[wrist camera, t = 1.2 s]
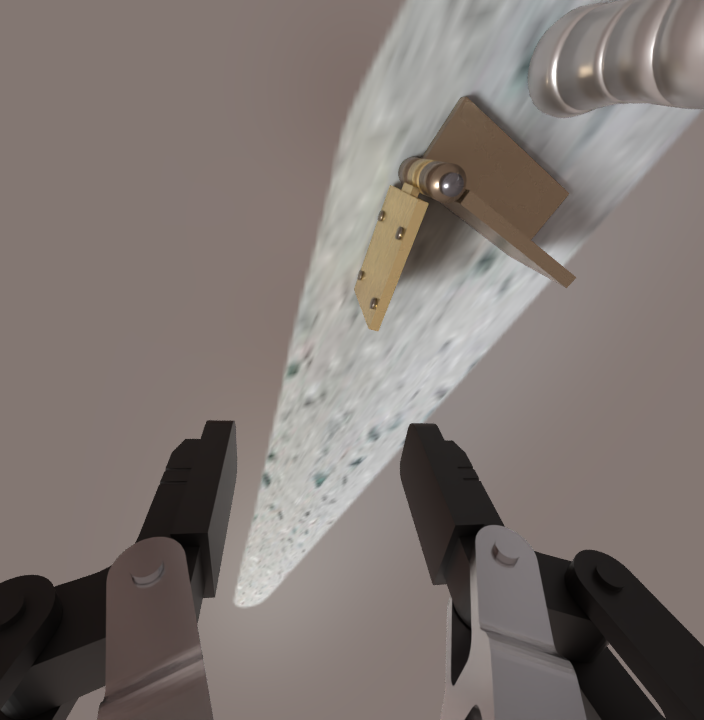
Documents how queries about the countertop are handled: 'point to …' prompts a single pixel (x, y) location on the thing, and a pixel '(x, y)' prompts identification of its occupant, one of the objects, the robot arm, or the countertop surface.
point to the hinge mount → (491, 186)
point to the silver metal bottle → (620, 57)
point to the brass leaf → (390, 246)
